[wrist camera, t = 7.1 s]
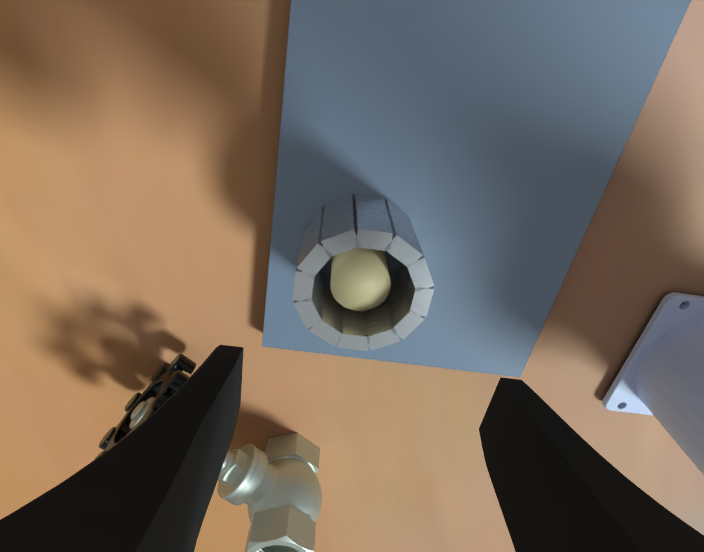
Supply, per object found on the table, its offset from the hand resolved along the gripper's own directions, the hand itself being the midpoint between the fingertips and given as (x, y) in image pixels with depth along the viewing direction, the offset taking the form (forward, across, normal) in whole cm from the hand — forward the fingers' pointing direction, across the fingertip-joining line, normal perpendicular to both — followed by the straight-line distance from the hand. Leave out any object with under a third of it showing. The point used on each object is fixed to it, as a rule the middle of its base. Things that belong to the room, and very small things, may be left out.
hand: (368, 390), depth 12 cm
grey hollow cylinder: (+9, 0, 0) cm, 9 cm away
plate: (+10, -3, -6) cm, 12 cm away
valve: (+10, +5, +13) cm, 17 cm away
